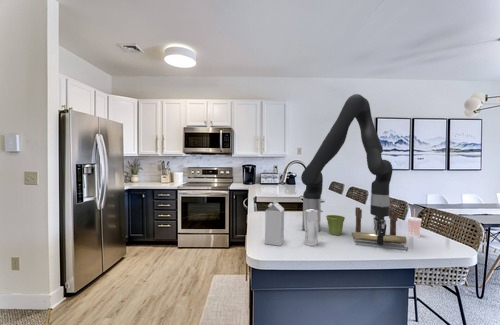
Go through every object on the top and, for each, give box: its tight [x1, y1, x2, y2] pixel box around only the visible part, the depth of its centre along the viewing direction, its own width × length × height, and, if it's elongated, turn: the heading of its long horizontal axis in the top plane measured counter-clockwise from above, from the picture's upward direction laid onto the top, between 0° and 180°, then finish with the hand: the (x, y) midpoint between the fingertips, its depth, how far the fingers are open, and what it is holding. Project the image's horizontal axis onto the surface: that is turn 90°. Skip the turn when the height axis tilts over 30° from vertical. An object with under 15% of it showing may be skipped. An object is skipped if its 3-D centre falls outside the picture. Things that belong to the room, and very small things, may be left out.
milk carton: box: [264, 199, 285, 247], centre depth 107 cm, size 7×7×19 cm
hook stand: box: [351, 206, 402, 245], centre depth 114 cm, size 20×7×14 cm, turn 73°
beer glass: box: [304, 209, 321, 247], centre depth 107 cm, size 7×7×15 cm
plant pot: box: [325, 214, 346, 236], centre depth 122 cm, size 9×9×9 cm
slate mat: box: [353, 239, 408, 251], centre depth 106 cm, size 20×6×1 cm, turn 73°
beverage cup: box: [406, 208, 423, 239], centre depth 120 cm, size 6×6×14 cm
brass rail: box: [354, 231, 407, 245], centre depth 106 cm, size 20×3×3 cm, turn 73°
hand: (379, 242), depth 106 cm, fingers closed on brass rail, 3 cm apart
